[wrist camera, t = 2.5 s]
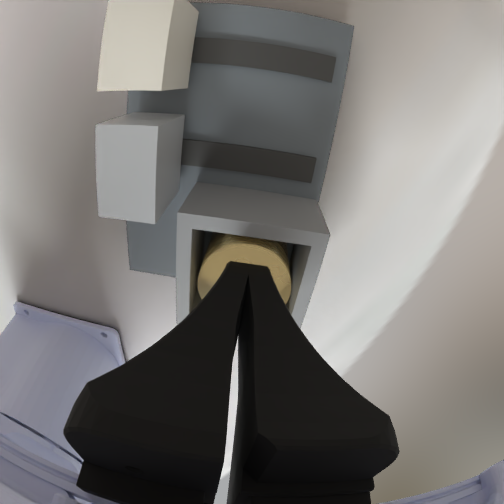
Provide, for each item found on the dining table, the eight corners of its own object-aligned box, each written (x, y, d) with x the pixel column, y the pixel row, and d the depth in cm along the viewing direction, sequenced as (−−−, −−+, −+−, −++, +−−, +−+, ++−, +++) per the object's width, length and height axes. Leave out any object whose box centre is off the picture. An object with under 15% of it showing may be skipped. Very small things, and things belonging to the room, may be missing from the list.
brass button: (208, 270, 14) (195, 316, 11) (213, 204, 12) (200, 241, 10) (278, 280, 14) (281, 327, 11) (293, 216, 12) (300, 255, 10)
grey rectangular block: (132, 185, 12) (98, 216, 9) (134, 112, 10) (95, 124, 8) (179, 190, 12) (155, 224, 9) (184, 114, 10) (158, 126, 8)
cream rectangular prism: (136, 86, 10) (96, 91, 7) (145, 13, 8) (109, -4, 5) (187, 88, 10) (161, 90, 7) (199, 11, 8) (176, -11, 6)
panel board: (139, 253, 16) (106, 310, 12) (152, 11, 9) (103, -13, 6) (291, 275, 16) (298, 340, 12) (344, 31, 10) (382, 10, 6)
